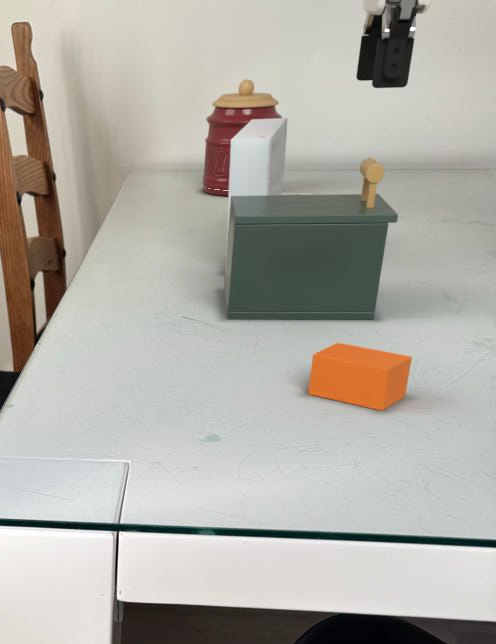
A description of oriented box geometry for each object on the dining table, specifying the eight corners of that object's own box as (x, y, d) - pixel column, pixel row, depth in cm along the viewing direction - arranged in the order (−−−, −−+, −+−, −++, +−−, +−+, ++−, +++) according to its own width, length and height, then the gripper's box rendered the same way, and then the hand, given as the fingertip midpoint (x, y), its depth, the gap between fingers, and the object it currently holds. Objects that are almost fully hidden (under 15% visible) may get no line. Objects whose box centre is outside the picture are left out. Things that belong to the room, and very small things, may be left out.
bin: (357, 290, 119) (370, 202, 113) (373, 319, 108) (388, 223, 103) (223, 290, 121) (230, 203, 116) (227, 319, 110) (234, 224, 105)
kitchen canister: (287, 193, 176) (299, 79, 167) (218, 199, 174) (226, 83, 165) (256, 183, 187) (265, 75, 178) (191, 188, 185) (197, 79, 175)
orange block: (405, 397, 88) (412, 356, 86) (381, 411, 85) (388, 369, 83) (332, 381, 92) (337, 342, 90) (307, 394, 89) (312, 354, 87)
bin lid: (377, 201, 113) (384, 152, 111) (396, 222, 103) (405, 169, 100) (230, 203, 116) (234, 155, 113) (234, 224, 105) (238, 172, 102)
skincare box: (241, 241, 145) (251, 117, 136) (279, 242, 143) (292, 117, 134) (219, 274, 128) (230, 136, 119) (263, 276, 126) (276, 136, 118)
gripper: (478, -146, 83) (438, 89, 92) (433, -125, 97) (402, 76, 106) (384, -140, 84) (354, 91, 93) (353, -121, 98) (330, 78, 107)
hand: (380, 83), depth 100 cm, fingers open, 9 cm apart
